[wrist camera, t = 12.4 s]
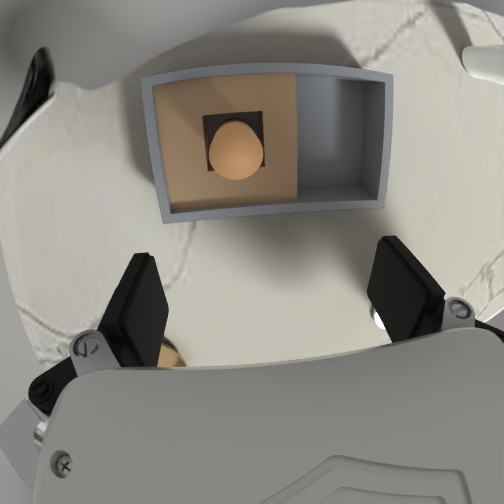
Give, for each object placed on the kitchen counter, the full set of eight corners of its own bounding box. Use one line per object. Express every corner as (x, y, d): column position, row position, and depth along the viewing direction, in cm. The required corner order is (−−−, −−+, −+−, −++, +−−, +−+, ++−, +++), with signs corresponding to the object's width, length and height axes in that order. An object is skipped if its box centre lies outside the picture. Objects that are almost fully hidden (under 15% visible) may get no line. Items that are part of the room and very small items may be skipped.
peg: (251, 116, 27) (262, 126, 18) (254, 151, 29) (264, 177, 20) (214, 119, 27) (206, 131, 18) (217, 154, 29) (211, 182, 20)
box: (366, 75, 25) (393, 74, 20) (362, 189, 33) (383, 208, 28) (156, 80, 24) (140, 78, 19) (173, 202, 32) (163, 224, 27)
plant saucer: (102, 341, 46) (99, 351, 44) (155, 320, 43) (152, 331, 41) (150, 379, 53) (148, 389, 51) (203, 364, 51) (203, 375, 48)
